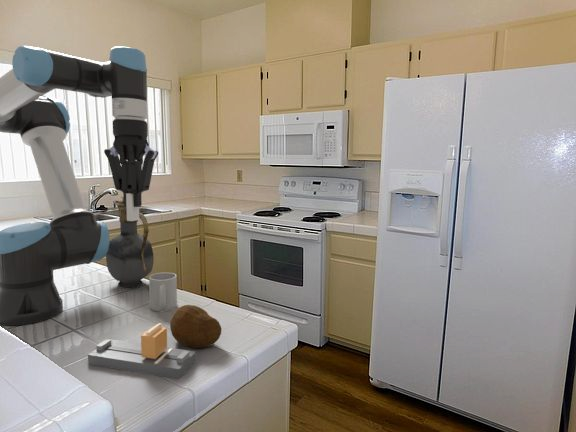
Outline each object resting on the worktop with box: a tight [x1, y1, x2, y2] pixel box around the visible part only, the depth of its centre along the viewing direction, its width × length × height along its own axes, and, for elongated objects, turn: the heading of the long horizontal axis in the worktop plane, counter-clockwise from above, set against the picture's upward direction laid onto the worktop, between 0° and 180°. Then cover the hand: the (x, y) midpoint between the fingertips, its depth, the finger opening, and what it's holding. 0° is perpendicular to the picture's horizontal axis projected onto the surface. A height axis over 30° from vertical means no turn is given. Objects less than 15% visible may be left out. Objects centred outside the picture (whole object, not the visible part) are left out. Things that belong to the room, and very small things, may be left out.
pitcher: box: [105, 196, 155, 289], centre depth 122 cm, size 11×19×30 cm, turn 49°
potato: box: [169, 304, 222, 349], centre depth 86 cm, size 8×12×9 cm
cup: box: [148, 272, 178, 312], centre depth 106 cm, size 7×10×9 cm
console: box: [87, 338, 197, 380], centre depth 78 cm, size 20×7×3 cm, turn 77°
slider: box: [140, 322, 168, 359], centre depth 77 cm, size 3×4×5 cm
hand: (133, 220), depth 92 cm, fingers closed
